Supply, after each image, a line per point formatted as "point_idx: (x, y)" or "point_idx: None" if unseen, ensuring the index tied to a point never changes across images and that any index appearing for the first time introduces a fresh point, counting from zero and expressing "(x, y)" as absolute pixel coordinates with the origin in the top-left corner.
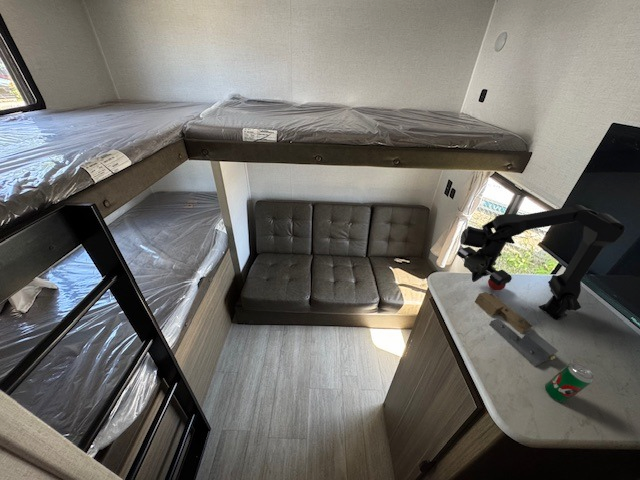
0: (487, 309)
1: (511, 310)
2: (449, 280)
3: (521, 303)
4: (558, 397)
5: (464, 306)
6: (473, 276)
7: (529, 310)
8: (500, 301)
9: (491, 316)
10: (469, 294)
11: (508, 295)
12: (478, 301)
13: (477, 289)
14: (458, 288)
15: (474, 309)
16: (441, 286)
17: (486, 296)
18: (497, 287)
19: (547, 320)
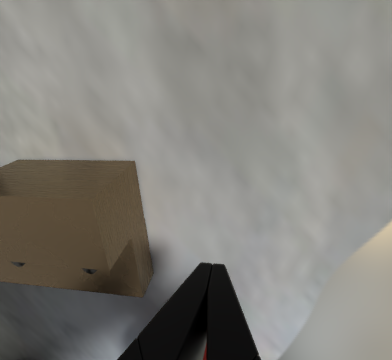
0: (35, 168)
1: (18, 276)
2: (387, 158)
3: (95, 345)
4: None
5: (111, 49)
6: (217, 319)
7: (59, 336)
8: (77, 283)
9: (17, 160)
10: (201, 185)
11: None
12: (103, 170)
13: None
14: (279, 157)
15: (79, 105)
16: (378, 9)
17: (59, 228)
18: None
19: (15, 341)
